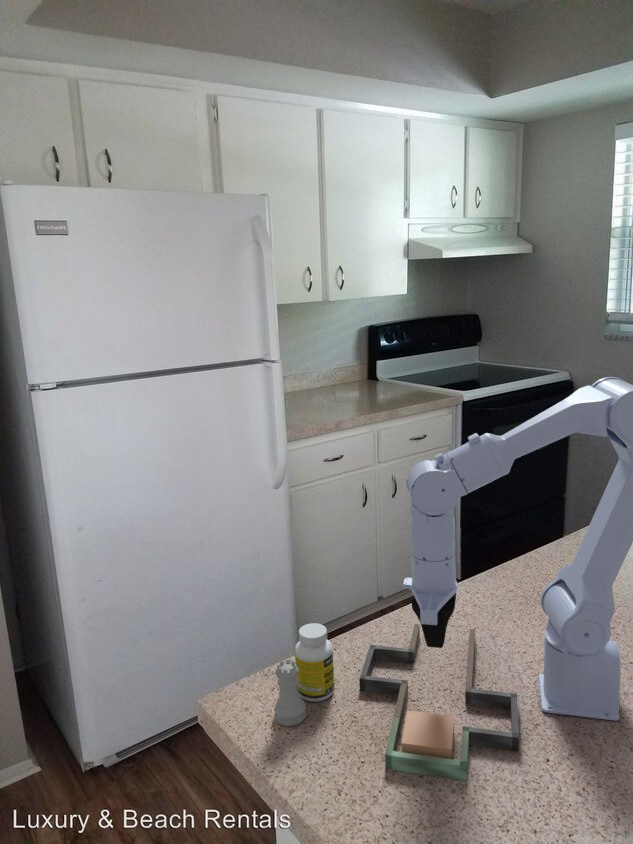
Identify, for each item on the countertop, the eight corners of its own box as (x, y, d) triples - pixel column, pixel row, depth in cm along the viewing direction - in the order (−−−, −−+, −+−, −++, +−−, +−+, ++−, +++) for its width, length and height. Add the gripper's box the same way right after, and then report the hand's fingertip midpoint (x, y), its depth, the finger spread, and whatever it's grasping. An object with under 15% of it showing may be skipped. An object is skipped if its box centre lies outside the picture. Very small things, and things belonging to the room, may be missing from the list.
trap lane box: (514, 644, 102) (514, 632, 102) (520, 789, 74) (520, 774, 74) (378, 631, 108) (378, 620, 107) (337, 761, 80) (336, 747, 80)
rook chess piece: (282, 732, 86) (278, 679, 84) (269, 713, 90) (264, 662, 88) (312, 720, 88) (309, 668, 86) (298, 702, 91) (294, 651, 90)
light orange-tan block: (454, 735, 84) (454, 715, 83) (452, 770, 78) (451, 749, 77) (407, 730, 85) (407, 710, 84) (402, 763, 79) (401, 743, 79)
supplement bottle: (331, 704, 90) (327, 642, 88) (293, 701, 92) (289, 639, 89) (337, 680, 96) (334, 621, 93) (302, 678, 97) (297, 619, 95)
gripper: (409, 529, 93) (412, 614, 96) (394, 575, 79) (398, 673, 82) (459, 531, 91) (460, 618, 94) (453, 579, 77) (454, 679, 80)
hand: (435, 644), depth 88 cm, fingers closed
